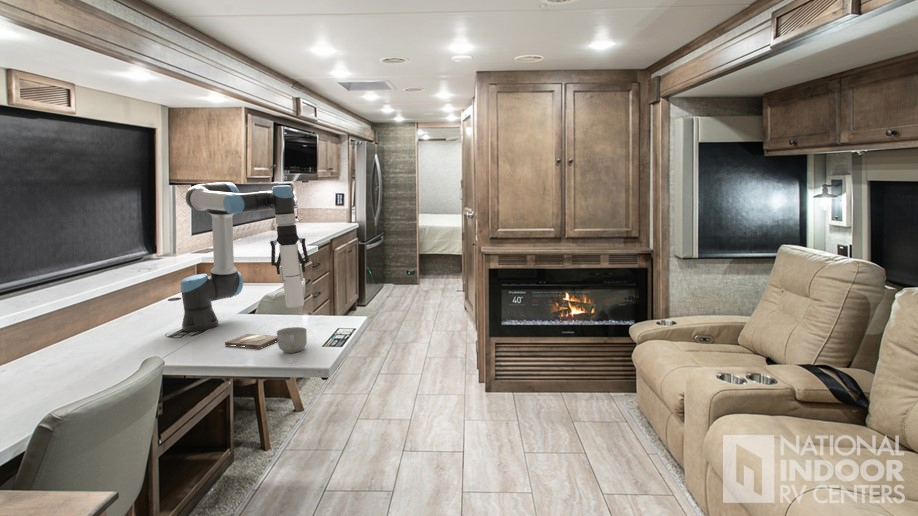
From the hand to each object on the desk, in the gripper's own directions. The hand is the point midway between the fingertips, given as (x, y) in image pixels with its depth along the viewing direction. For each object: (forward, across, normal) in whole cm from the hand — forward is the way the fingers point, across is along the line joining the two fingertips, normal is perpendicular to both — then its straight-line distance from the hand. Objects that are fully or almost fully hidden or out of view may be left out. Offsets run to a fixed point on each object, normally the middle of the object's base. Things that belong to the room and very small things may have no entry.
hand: (292, 281), depth 244 cm
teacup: (+23, 0, -22) cm, 32 cm away
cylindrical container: (+10, 0, 0) cm, 10 cm away
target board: (+23, -17, -3) cm, 29 cm away
